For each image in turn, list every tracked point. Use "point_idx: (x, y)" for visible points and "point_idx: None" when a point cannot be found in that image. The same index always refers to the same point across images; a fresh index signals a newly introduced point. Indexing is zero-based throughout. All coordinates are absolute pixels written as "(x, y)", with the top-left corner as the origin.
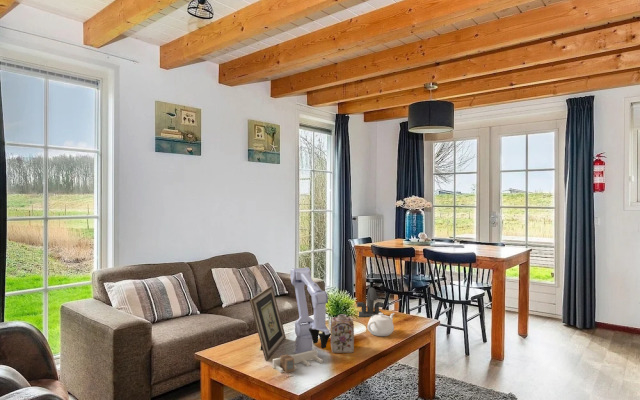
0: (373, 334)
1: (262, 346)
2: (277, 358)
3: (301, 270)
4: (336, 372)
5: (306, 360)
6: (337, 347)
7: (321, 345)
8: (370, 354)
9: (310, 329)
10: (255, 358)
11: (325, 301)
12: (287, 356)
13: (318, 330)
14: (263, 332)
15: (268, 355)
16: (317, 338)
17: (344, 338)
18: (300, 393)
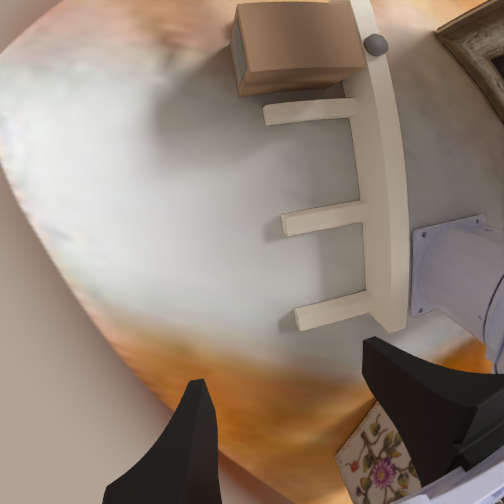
0: None
1: (490, 1)
2: (367, 14)
3: None
4: (133, 347)
5: (365, 237)
6: (381, 426)
7: (189, 396)
8: (286, 490)
9: (486, 407)
10: (461, 13)
11: None
12: (317, 40)
13: (421, 469)
14: None
15: (462, 49)
16: (382, 401)
17: (378, 480)
18: None
